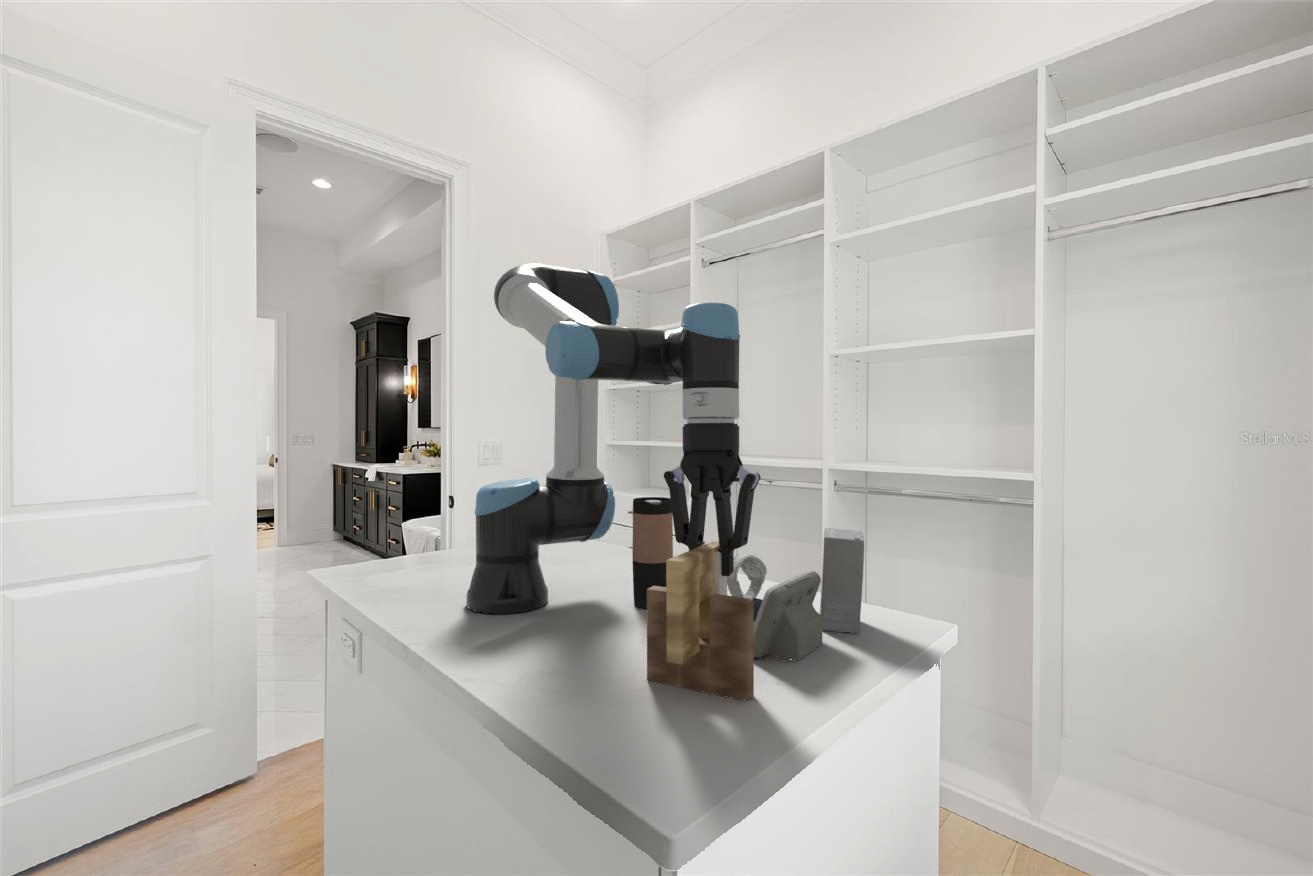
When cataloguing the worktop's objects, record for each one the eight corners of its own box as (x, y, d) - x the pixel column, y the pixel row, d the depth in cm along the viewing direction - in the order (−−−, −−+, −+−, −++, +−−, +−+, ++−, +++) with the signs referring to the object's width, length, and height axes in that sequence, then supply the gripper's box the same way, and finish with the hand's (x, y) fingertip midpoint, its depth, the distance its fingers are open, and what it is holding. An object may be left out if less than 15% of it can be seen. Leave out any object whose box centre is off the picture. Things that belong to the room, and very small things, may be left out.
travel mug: (648, 597, 121) (648, 496, 121) (680, 603, 116) (680, 498, 116) (624, 606, 114) (624, 499, 114) (657, 613, 110) (657, 502, 110)
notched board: (681, 664, 71) (681, 561, 71) (666, 661, 72) (666, 560, 72) (726, 630, 84) (726, 542, 83) (712, 627, 85) (712, 541, 84)
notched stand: (647, 679, 81) (646, 589, 80) (654, 674, 82) (654, 585, 82) (748, 701, 74) (748, 603, 74) (753, 695, 76) (753, 599, 76)
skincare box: (819, 616, 108) (819, 527, 108) (862, 620, 106) (862, 529, 106) (819, 631, 100) (819, 535, 100) (865, 635, 98) (865, 537, 98)
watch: (771, 615, 109) (771, 553, 108) (743, 625, 103) (743, 560, 103) (746, 609, 113) (746, 549, 112) (718, 618, 107) (718, 555, 107)
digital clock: (794, 629, 101) (794, 565, 101) (843, 643, 94) (843, 575, 94) (728, 653, 90) (728, 581, 90) (777, 671, 84) (777, 593, 84)
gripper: (647, 422, 82) (648, 598, 82) (755, 420, 74) (756, 613, 75) (672, 422, 88) (673, 585, 88) (774, 421, 81) (774, 598, 81)
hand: (711, 598), depth 81 cm, fingers closed on notched board, 2 cm apart
